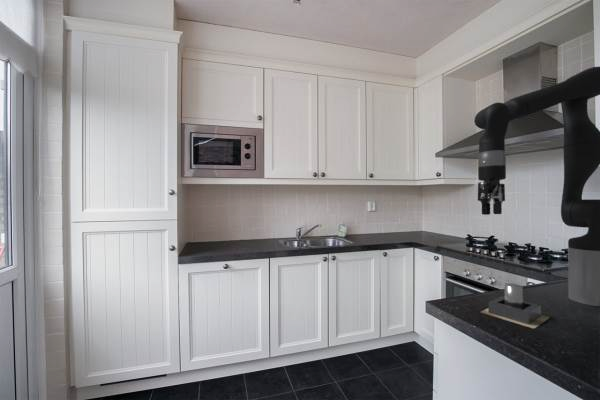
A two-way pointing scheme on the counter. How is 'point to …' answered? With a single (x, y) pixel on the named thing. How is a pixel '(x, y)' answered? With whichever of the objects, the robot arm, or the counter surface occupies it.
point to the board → (532, 325)
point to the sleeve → (515, 311)
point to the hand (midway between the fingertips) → (491, 214)
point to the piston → (514, 295)
